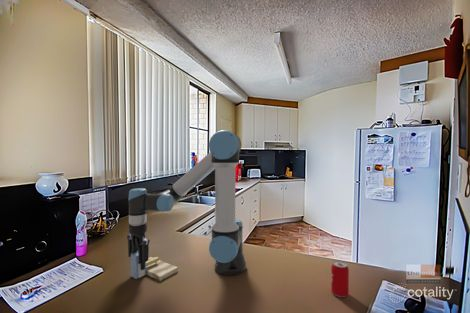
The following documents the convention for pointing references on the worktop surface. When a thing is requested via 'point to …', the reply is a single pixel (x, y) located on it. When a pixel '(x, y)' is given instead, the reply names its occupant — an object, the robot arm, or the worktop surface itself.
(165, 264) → the board
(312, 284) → the worktop surface
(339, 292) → the beverage can
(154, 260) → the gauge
